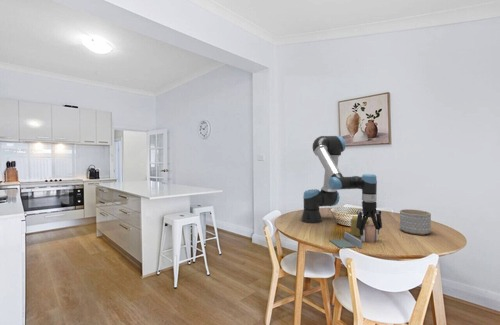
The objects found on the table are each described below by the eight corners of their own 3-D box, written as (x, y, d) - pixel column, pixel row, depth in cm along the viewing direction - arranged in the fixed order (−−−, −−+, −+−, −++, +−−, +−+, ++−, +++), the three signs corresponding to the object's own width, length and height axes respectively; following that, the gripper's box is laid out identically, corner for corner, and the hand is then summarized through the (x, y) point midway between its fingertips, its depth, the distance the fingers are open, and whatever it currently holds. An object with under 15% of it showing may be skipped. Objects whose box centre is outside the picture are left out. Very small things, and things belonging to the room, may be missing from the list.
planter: (436, 236, 147) (436, 215, 146) (406, 235, 150) (406, 214, 150) (422, 228, 163) (422, 209, 162) (395, 227, 166) (395, 208, 166)
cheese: (369, 233, 155) (369, 217, 154) (368, 238, 145) (368, 221, 145) (352, 230, 160) (352, 215, 160) (349, 235, 151) (349, 219, 151)
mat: (329, 240, 141) (329, 239, 141) (343, 239, 143) (343, 238, 143) (340, 248, 129) (340, 247, 129) (355, 247, 131) (355, 246, 131)
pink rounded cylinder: (361, 239, 143) (361, 224, 143) (370, 238, 144) (370, 223, 144) (367, 243, 137) (367, 227, 137) (377, 242, 138) (377, 226, 138)
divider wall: (344, 238, 145) (344, 231, 145) (345, 238, 145) (345, 231, 145) (360, 248, 129) (360, 241, 129) (362, 248, 129) (362, 241, 129)
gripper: (356, 203, 135) (356, 243, 135) (389, 201, 138) (389, 241, 138) (349, 200, 142) (349, 239, 143) (380, 199, 145) (380, 237, 146)
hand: (369, 240), depth 141 cm, fingers open, 7 cm apart
